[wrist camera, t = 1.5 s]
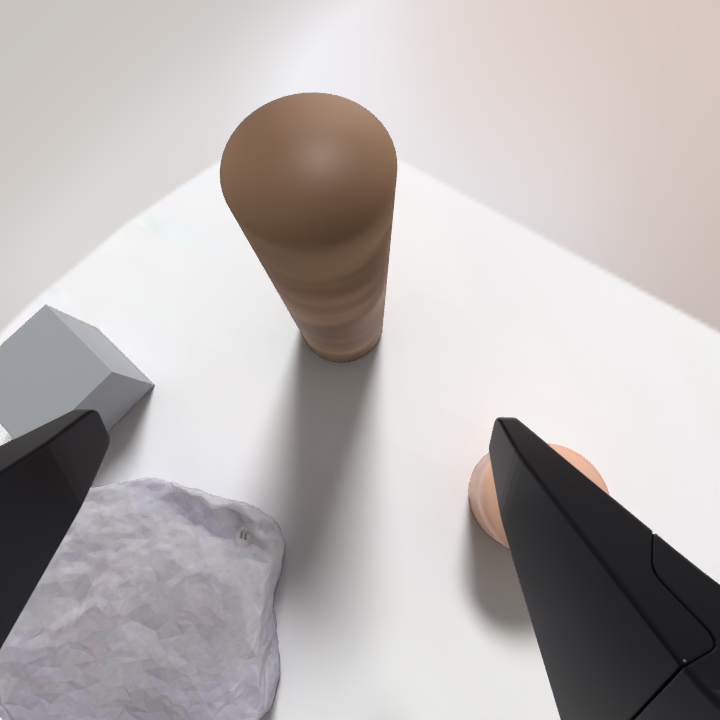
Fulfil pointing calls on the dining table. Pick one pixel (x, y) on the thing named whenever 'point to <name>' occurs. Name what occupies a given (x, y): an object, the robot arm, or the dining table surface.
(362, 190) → the walnut post
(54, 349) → the grey faceted polyhedron
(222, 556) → the stone block
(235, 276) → the dining table surface
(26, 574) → the robot arm
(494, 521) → the peach rounded knob part
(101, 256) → the dining table surface
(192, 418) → the dining table surface
